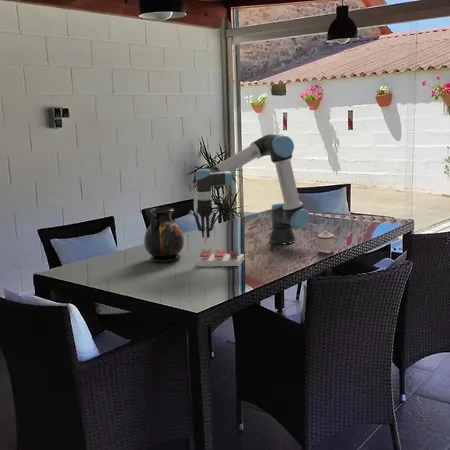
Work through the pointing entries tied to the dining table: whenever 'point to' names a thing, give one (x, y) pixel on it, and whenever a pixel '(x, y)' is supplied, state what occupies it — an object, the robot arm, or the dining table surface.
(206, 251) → the rocker
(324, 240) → the teacup with lid
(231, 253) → the rocker
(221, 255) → the rocker
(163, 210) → the amphora vase
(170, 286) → the dining table surface
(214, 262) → the power strip
